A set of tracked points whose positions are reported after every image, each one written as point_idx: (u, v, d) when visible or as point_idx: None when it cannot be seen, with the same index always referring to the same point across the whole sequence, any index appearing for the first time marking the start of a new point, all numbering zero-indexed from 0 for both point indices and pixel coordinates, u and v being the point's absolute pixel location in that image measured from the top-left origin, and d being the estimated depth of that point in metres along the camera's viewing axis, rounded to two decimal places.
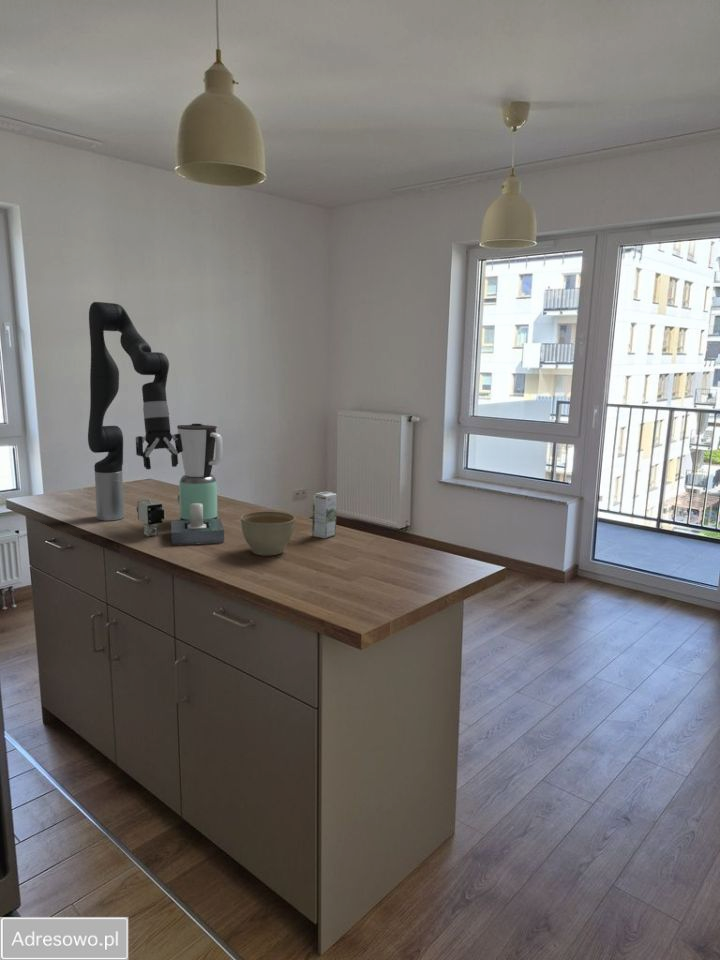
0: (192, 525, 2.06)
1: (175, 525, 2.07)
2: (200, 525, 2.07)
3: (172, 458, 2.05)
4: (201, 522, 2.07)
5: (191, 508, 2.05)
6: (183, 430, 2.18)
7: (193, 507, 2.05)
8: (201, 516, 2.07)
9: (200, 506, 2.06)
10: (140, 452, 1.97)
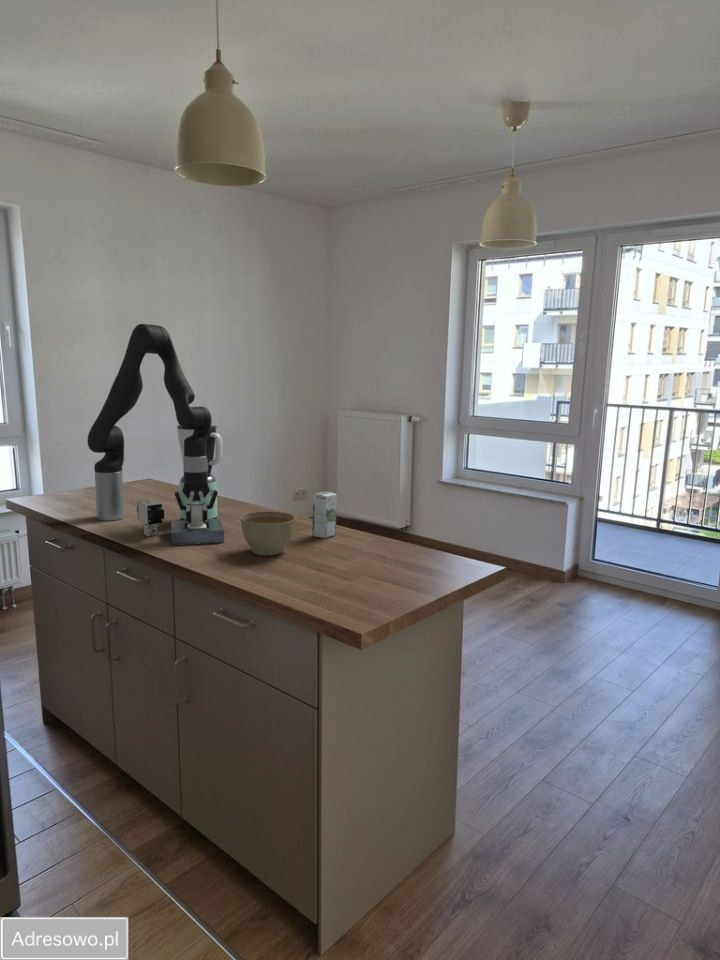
0: (192, 525, 2.06)
1: (175, 525, 2.07)
2: (200, 525, 2.07)
3: None
4: (201, 522, 2.07)
5: (191, 508, 2.05)
6: (183, 430, 2.18)
7: (193, 507, 2.05)
8: (201, 516, 2.07)
9: (200, 506, 2.06)
10: (180, 507, 2.04)
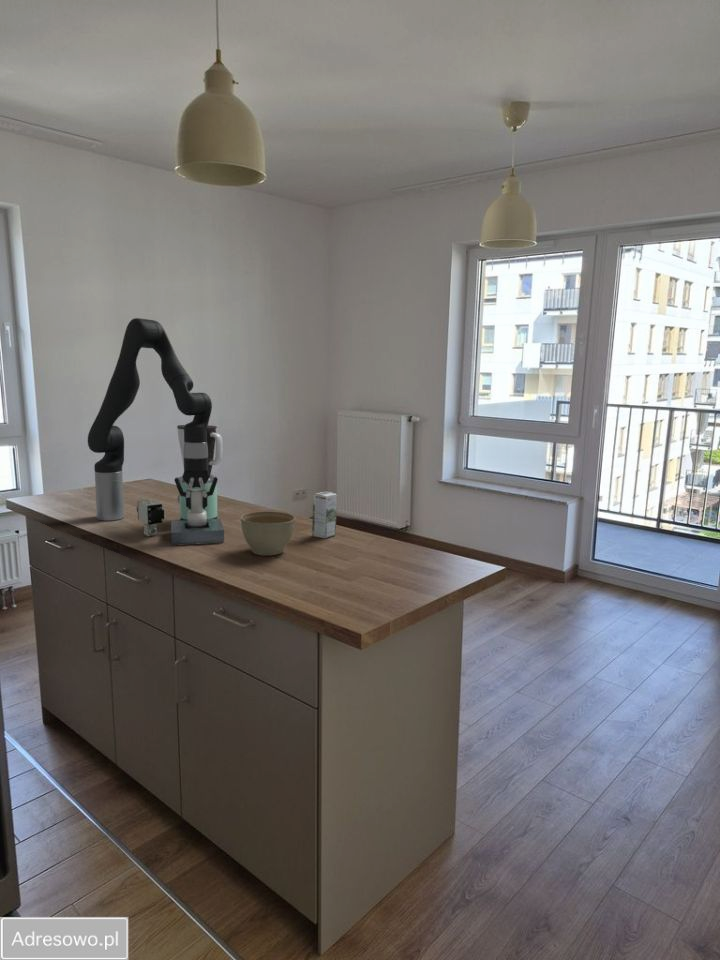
0: (192, 511, 2.06)
1: (175, 525, 2.07)
2: (200, 512, 2.06)
3: None
4: (201, 509, 2.06)
5: (191, 494, 2.05)
6: (183, 430, 2.18)
7: (193, 493, 2.04)
8: (201, 503, 2.06)
9: (200, 492, 2.05)
10: (180, 493, 2.04)
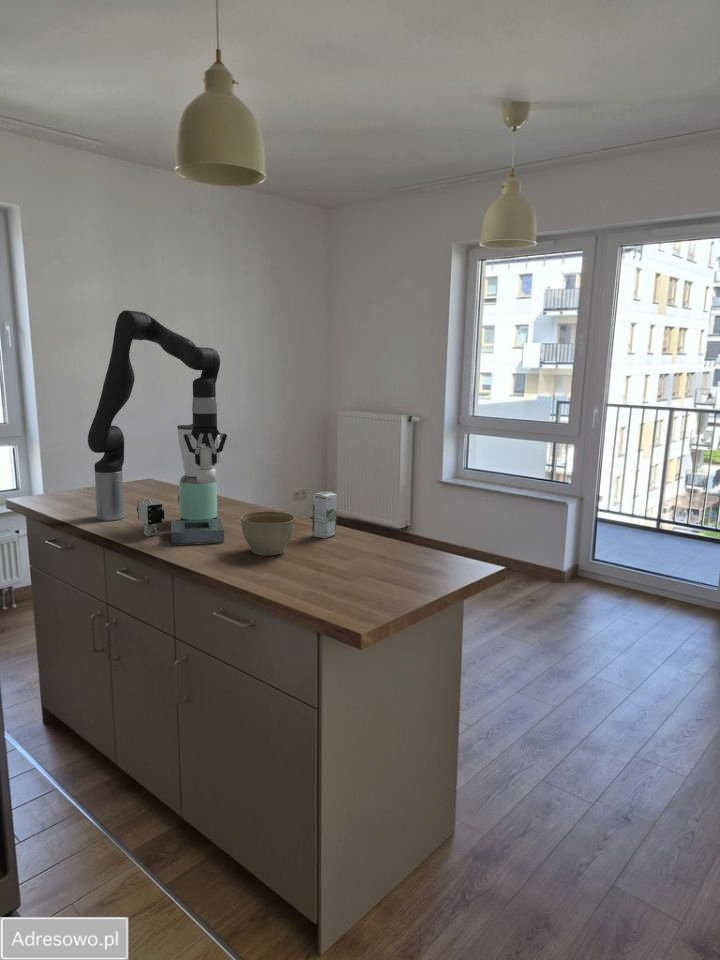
0: (201, 468, 2.04)
1: (175, 525, 2.07)
2: (209, 468, 2.04)
3: (212, 457, 2.06)
4: (210, 465, 2.05)
5: (200, 451, 2.03)
6: (183, 430, 2.18)
7: (202, 450, 2.03)
8: (210, 459, 2.04)
9: (209, 449, 2.04)
10: (190, 449, 2.02)
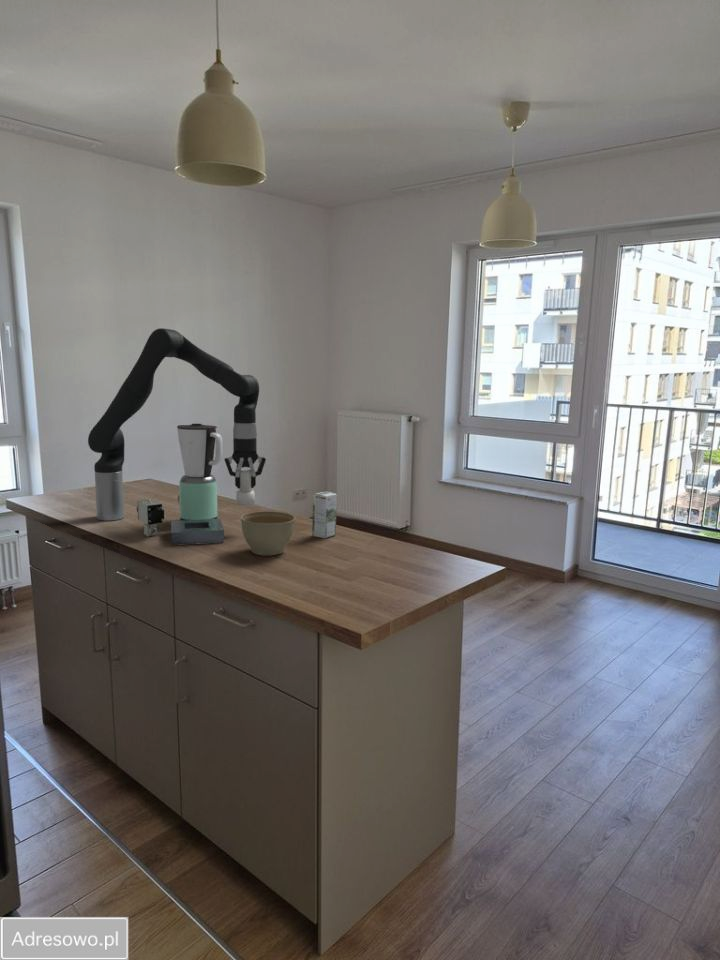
0: (241, 491, 2.12)
1: (175, 525, 2.07)
2: (249, 491, 2.12)
3: (251, 479, 2.14)
4: (250, 488, 2.12)
5: (240, 474, 2.11)
6: (183, 430, 2.18)
7: (242, 473, 2.11)
8: (250, 482, 2.12)
9: (249, 472, 2.11)
10: (230, 473, 2.10)
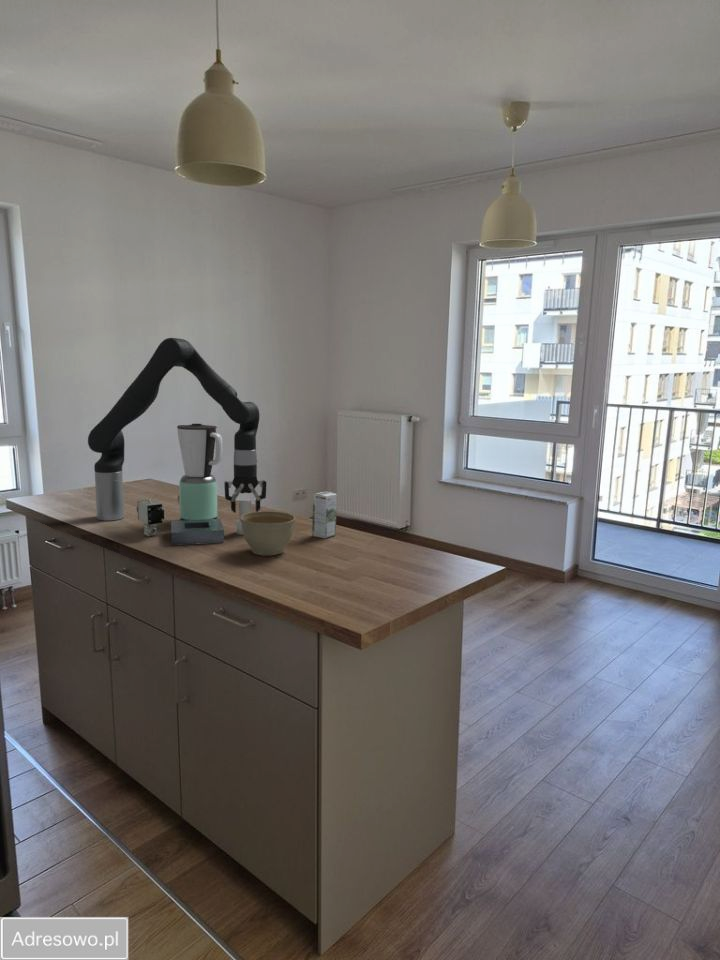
0: None
1: (175, 525, 2.07)
2: None
3: (255, 503, 2.15)
4: None
5: (240, 504, 2.13)
6: (183, 430, 2.18)
7: (242, 503, 2.12)
8: (250, 512, 2.14)
9: (249, 502, 2.13)
10: (226, 497, 2.11)
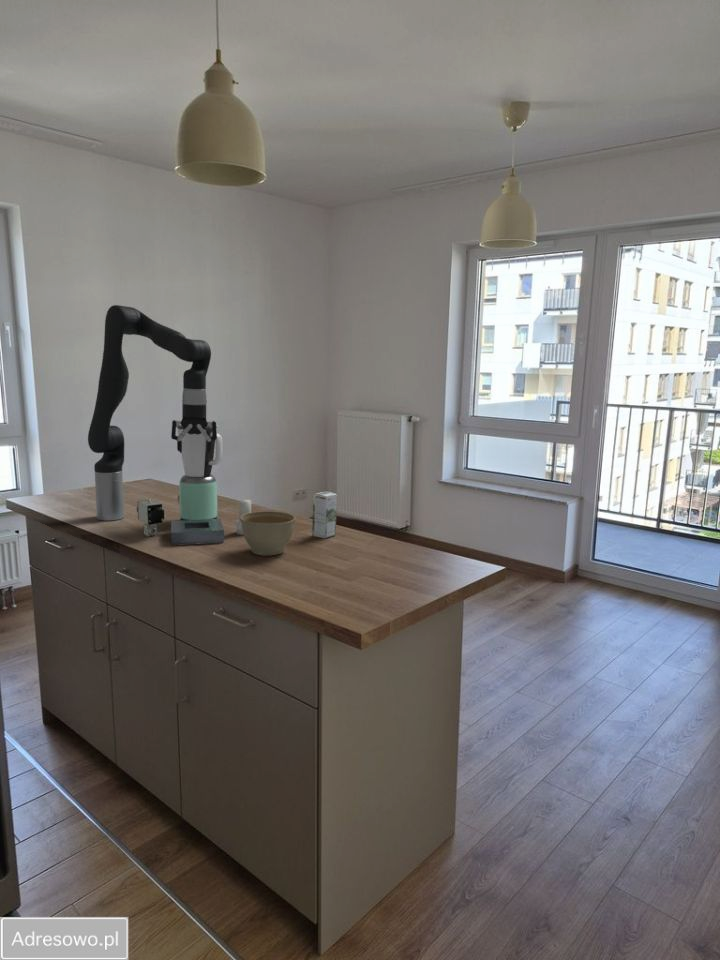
0: None
1: (175, 525, 2.07)
2: None
3: (206, 444, 2.11)
4: None
5: (240, 504, 2.13)
6: None
7: (242, 503, 2.12)
8: (249, 512, 2.14)
9: (249, 502, 2.13)
10: (172, 436, 2.06)
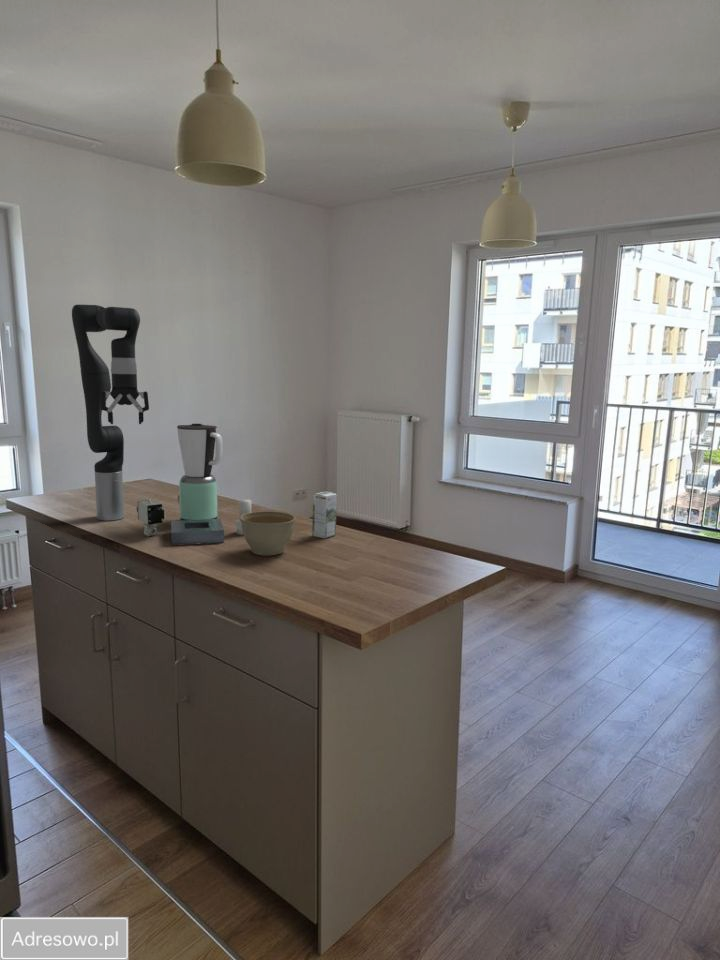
0: None
1: (175, 525, 2.07)
2: None
3: None
4: None
5: (240, 504, 2.13)
6: (183, 430, 2.18)
7: (242, 503, 2.12)
8: (250, 512, 2.14)
9: (249, 502, 2.13)
10: (102, 407, 2.01)
